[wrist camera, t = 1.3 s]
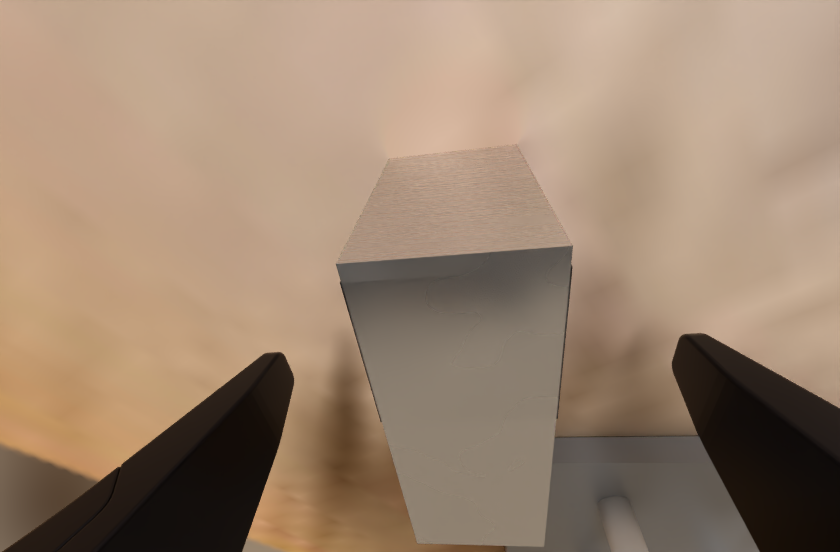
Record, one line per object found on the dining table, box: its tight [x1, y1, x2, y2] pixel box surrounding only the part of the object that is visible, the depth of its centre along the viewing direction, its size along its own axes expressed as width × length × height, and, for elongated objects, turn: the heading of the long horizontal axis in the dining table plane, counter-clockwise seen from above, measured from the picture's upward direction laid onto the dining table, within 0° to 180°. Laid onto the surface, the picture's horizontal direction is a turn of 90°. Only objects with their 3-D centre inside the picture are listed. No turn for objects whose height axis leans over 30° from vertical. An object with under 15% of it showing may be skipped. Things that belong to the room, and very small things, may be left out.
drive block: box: [336, 144, 573, 547], centre depth 9 cm, size 3×8×5 cm, turn 8°
